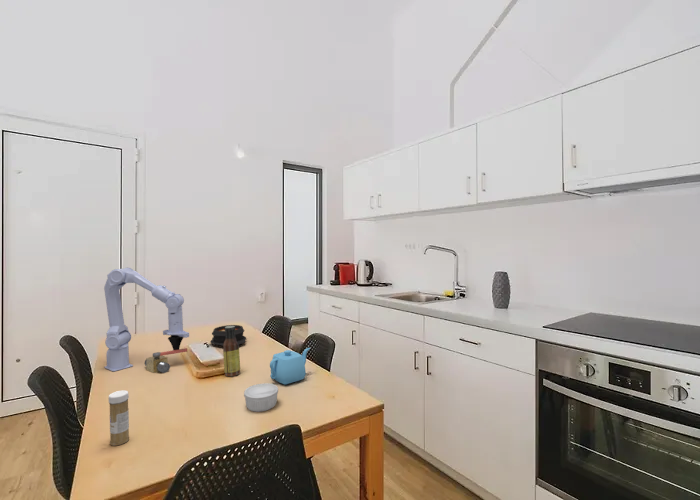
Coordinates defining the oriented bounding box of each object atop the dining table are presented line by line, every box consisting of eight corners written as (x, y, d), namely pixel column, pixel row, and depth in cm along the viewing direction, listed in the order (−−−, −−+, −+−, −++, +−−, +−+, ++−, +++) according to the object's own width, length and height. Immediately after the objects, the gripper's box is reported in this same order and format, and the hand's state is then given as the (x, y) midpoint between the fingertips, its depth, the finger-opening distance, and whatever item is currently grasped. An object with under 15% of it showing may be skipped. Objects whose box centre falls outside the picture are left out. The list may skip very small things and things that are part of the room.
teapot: (318, 377, 140) (318, 348, 140) (278, 390, 128) (277, 359, 128) (302, 369, 149) (301, 342, 149) (263, 380, 138) (262, 351, 138)
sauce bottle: (243, 372, 146) (242, 325, 146) (233, 378, 140) (232, 328, 140) (230, 370, 148) (229, 324, 148) (220, 376, 142) (219, 327, 142)
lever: (152, 355, 152) (152, 353, 152) (186, 350, 159) (186, 347, 159) (152, 357, 149) (152, 355, 149) (187, 351, 157) (187, 349, 157)
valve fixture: (142, 368, 153) (141, 355, 153) (156, 364, 158) (155, 352, 158) (158, 374, 145) (157, 361, 145) (172, 370, 150) (172, 357, 150)
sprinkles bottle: (107, 442, 96) (106, 393, 95) (126, 435, 99) (125, 388, 99) (113, 448, 93) (111, 398, 92) (132, 441, 96) (130, 392, 96)
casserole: (253, 345, 186) (253, 329, 186) (217, 352, 175) (217, 335, 175) (238, 335, 206) (237, 321, 206) (204, 341, 195) (204, 326, 195)
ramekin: (261, 417, 108) (260, 400, 108) (236, 408, 114) (236, 392, 114) (285, 402, 118) (285, 387, 118) (262, 395, 124) (261, 380, 124)
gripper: (156, 322, 156) (157, 352, 157) (179, 325, 150) (180, 356, 151) (170, 319, 163) (171, 348, 163) (192, 321, 157) (193, 351, 157)
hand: (176, 351), depth 157 cm, fingers closed, pressing on lever
